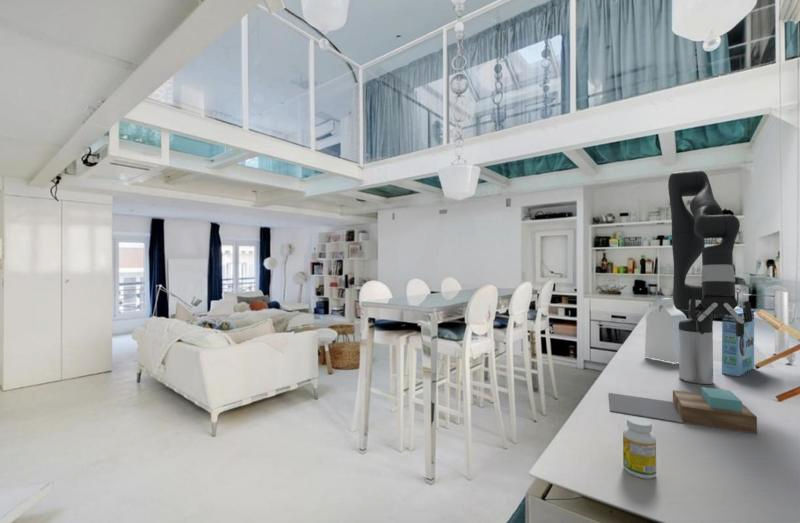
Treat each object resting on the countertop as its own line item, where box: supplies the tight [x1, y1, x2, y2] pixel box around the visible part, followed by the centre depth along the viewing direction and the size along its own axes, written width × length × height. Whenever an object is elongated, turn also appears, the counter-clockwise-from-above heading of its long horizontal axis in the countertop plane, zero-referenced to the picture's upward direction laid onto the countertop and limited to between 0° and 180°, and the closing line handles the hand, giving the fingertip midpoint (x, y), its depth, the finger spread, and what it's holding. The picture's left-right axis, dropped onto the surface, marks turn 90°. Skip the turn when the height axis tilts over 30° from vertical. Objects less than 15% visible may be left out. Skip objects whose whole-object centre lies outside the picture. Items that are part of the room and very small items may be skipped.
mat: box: [608, 392, 685, 424], centre depth 103 cm, size 16×16×1 cm
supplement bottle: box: [622, 416, 657, 480], centre depth 71 cm, size 5×5×10 cm
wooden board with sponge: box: [672, 389, 758, 435], centre depth 96 cm, size 14×14×4 cm
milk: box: [644, 297, 688, 363], centre depth 156 cm, size 12×12×26 cm
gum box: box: [721, 308, 755, 377], centre depth 139 cm, size 20×5×23 cm, turn 123°
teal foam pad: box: [700, 386, 743, 412], centre depth 95 cm, size 9×6×2 cm, turn 152°
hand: (719, 335), depth 109 cm, fingers open, 8 cm apart
